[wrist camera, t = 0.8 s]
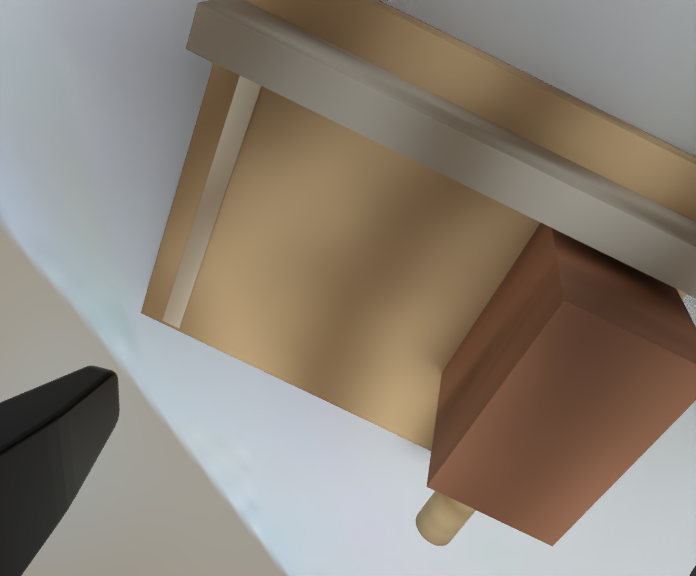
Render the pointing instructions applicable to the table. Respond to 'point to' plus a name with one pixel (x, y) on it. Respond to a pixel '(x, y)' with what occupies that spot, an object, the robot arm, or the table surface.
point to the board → (387, 198)
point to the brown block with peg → (556, 390)
